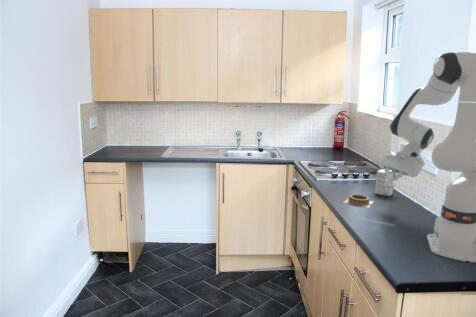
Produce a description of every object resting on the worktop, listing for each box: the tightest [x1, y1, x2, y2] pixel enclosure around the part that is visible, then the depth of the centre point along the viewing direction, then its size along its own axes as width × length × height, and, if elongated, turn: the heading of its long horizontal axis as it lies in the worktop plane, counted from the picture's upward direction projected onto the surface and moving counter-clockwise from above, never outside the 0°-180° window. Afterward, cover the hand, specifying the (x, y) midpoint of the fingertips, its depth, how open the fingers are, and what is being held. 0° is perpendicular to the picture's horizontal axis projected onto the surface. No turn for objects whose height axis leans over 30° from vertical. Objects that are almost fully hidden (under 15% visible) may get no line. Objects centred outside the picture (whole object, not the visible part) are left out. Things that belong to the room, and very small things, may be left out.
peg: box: [385, 169, 397, 189], centre depth 175 cm, size 4×4×8 cm
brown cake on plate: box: [342, 193, 374, 208], centre depth 184 cm, size 12×12×4 cm
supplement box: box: [374, 168, 394, 197], centre depth 201 cm, size 7×7×13 cm
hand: (389, 178), depth 175 cm, fingers closed on peg, 4 cm apart
